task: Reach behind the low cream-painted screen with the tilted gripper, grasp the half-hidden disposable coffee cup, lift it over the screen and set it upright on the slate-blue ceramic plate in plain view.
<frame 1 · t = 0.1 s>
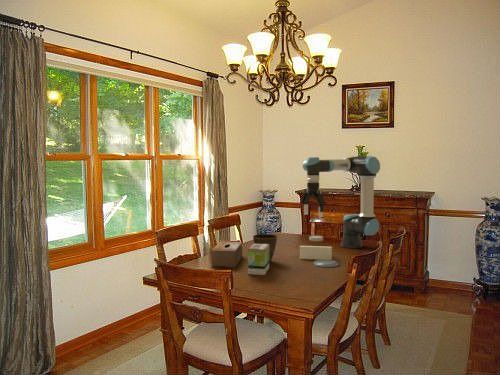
hand: (313, 215, 268), 28 cm above the table, tool pointing down, fingers open, 13 cm apart
disposable coffee cup: (316, 254, 284), on the table
tissue box cover: (227, 262, 268), on the table
plate: (326, 264, 259), on the table
plant pot: (265, 261, 267), on the table
tea box: (258, 271, 245), on the table
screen: (315, 259, 272), on the table
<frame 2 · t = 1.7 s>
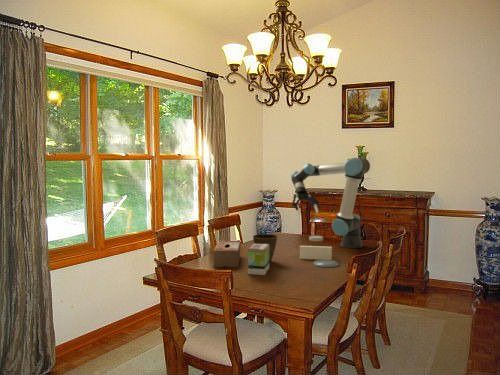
hand: (308, 212, 298), 26 cm above the table, tool tilted 45°, fingers open, 13 cm apart
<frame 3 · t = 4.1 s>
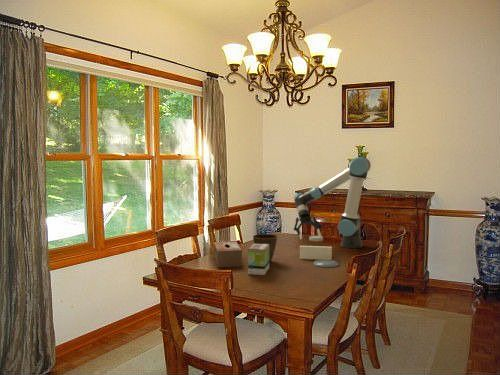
hand: (310, 237, 288), 10 cm above the table, tool tilted 45°, fingers open, 13 cm apart
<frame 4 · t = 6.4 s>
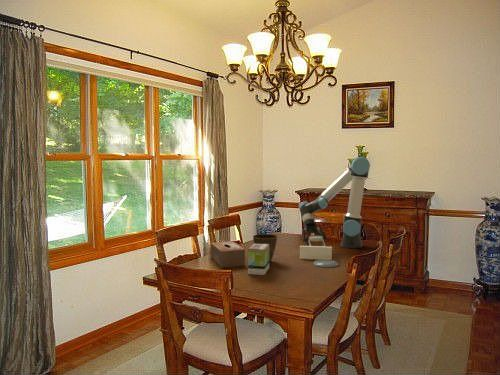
hand: (317, 249, 280), 4 cm above the table, tool tilted 45°, fingers closed on disposable coffee cup, 9 cm apart
disposable coffee cup: (316, 254, 284), on the table, touching gripper
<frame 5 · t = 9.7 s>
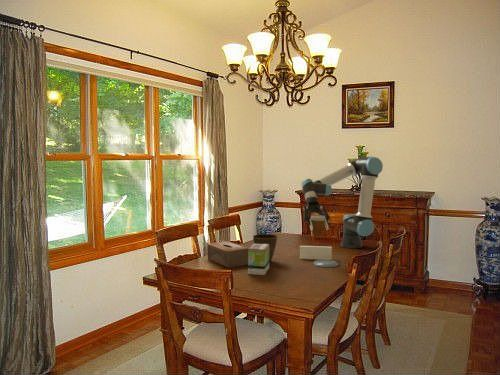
hand: (319, 229, 261), 21 cm above the table, tool tilted 45°, fingers closed on disposable coffee cup, 9 cm apart
disposable coffee cup: (317, 235, 264), point 16 cm above the table, touching gripper
when the fingers open (7 cm above the table, at t = 13.4 s): disposable coffee cup drops 1 cm, resting on plate.
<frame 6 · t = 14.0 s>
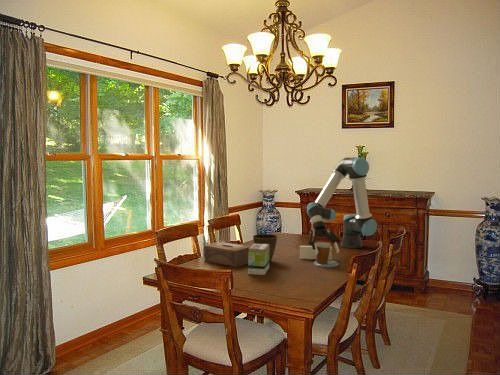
hand: (327, 253, 256), 7 cm above the table, tool tilted 45°, fingers open, 13 cm apart
disposable coffee cup: (322, 262, 259), point 1 cm above the table, touching gripper, plate
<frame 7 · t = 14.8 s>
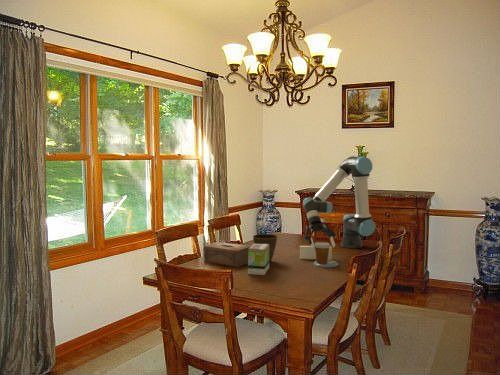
hand: (324, 247, 260), 10 cm above the table, tool tilted 45°, fingers open, 13 cm apart
disposable coffee cup: (321, 263, 259), point 1 cm above the table, touching plate
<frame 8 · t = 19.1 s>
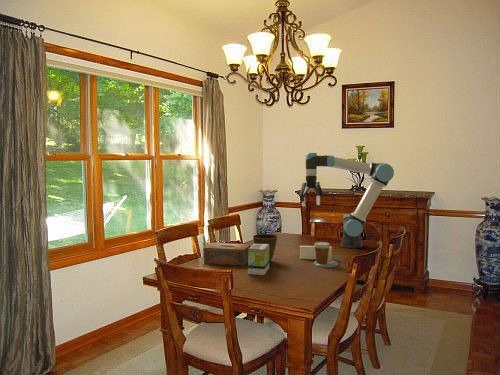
hand: (311, 205, 297), 31 cm above the table, tool pointing down, fingers open, 13 cm apart
at the end: disposable coffee cup inside the target area on the plate (2.6 cm from its centre), point 0.6 cm above the plate's base; disposable coffee cup tilted 0°; the gripper is holding nothing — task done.
